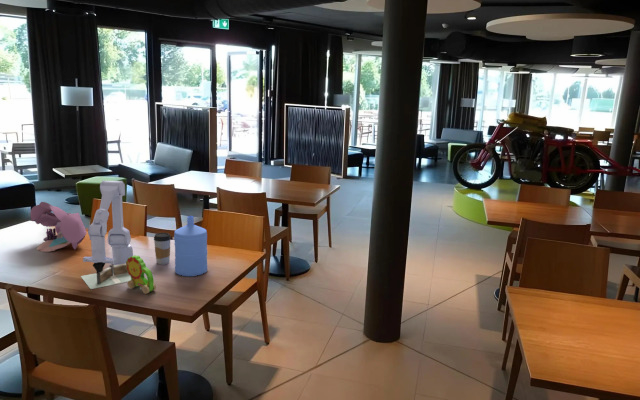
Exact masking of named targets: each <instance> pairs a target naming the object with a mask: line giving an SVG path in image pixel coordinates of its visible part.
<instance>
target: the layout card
mask: <svg viewBox="0 0 640 400" xmlns="http://www.w3.org/2000/svg"><path fill="white" fill-rule="evenodd" d="M80 278H81V279H82V280H83V282H84V283H85V285H87V287H88V288H89V289H90V290H95V289H100V288H104V287H110V286H113V285H119V284H123V283H124V284H125V283H128V281H130V280H131V276H130V275H129V274H128V273H122V274H117V275H114V269H113V276H111V277H109V278H108V279H106V280H104V281H103V282H101V283H100V284H97V272H95V273H89V274H85V275H80Z"/></svg>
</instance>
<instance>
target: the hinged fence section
mask: <svg viewBox="0 0 640 400" xmlns="http://www.w3.org/2000/svg"><path fill="white" fill-rule="evenodd" d="M96 273H97V272H96ZM111 276H112V271H111V267H110V266H109V267H106V268H103V271H101V272H99V273H97V284H100V283H101V282H103V281H104V280H106V279H108V278H109V277H111Z"/></svg>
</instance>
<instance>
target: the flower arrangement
mask: <svg viewBox="0 0 640 400" xmlns="http://www.w3.org/2000/svg"><path fill="white" fill-rule="evenodd" d="M30 219H31V221H32V222H33V221H35V224H37V225H39V224H40V225H42V226H43V227H47V228H46V232H45V234H46V236H45V237H44V238H43V241H42V242H41V244H39V245H38V246H37V247H36V250H37V251H40V252H54V251H56V250H58V249H59V250H60V249H62V248H65V247H67V246H69V245H72V248H73V249H74V250H76V249H77V247H78V245H80V244H81V243H82V242H83V240H84V239H85V237H86V235H87V229H86V228H85V225H84V223H83V220H82V218H81V215H80V213H79V212H76V213H75V212H74V213H70V212H66V211H65V210H63V209H61V208H60V207H58V206H54V205H52V204H50V203H48V202H46V201H41V202H40V203H38V204H37V205H34V206H32V208H31V210H30ZM48 227H54V228H48Z"/></svg>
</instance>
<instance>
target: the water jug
mask: <svg viewBox="0 0 640 400" xmlns="http://www.w3.org/2000/svg"><path fill="white" fill-rule="evenodd" d="M186 218H187V219H186V222H187V223H186V225H184V226H180V227H179V228H177V229H175V230H174V235H173V240H174V257H175V258H174V271H175V273H176V274H177V275H178V276H181V275H182V276H183V277H197V275H198V276H201V275H204V274H206V272H207V271H208V242H207V241H208V232H207V229H206V228H204V227H202V226H198V225H196V224H195V222H194V221H195V219H194V218H195V217H194V215H189V216H186ZM203 273H204V274H203Z"/></svg>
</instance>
